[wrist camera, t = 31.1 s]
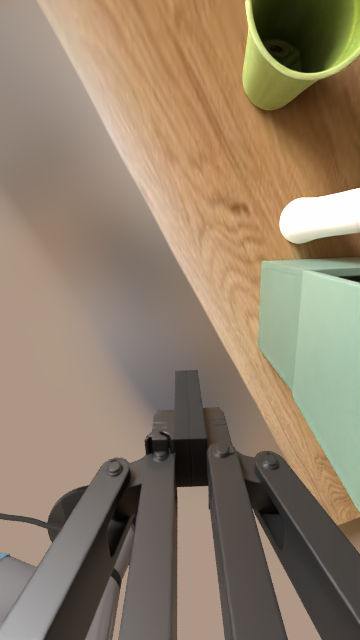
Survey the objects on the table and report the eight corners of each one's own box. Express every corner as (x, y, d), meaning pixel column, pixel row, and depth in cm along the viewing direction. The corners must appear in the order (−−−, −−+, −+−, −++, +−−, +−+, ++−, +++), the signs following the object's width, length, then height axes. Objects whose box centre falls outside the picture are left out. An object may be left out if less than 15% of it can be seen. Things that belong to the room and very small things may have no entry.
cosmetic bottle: (274, 239, 38) (397, 235, 17) (285, 194, 36) (438, 124, 15) (314, 246, 38) (486, 251, 17) (328, 202, 36) (536, 144, 15)
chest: (361, 256, 38) (458, 263, 25) (348, 343, 42) (426, 389, 29) (261, 260, 38) (304, 269, 25) (257, 347, 42) (293, 394, 29)
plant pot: (330, 107, 33) (402, 42, 22) (240, 147, 34) (269, 103, 24) (307, -6, 30) (379, -146, 19) (209, 41, 31) (226, -65, 21)
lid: (471, 310, 10) (448, 311, 10) (402, 561, 14) (386, 560, 14) (311, 270, 25) (302, 270, 25) (299, 397, 29) (291, 397, 29)
